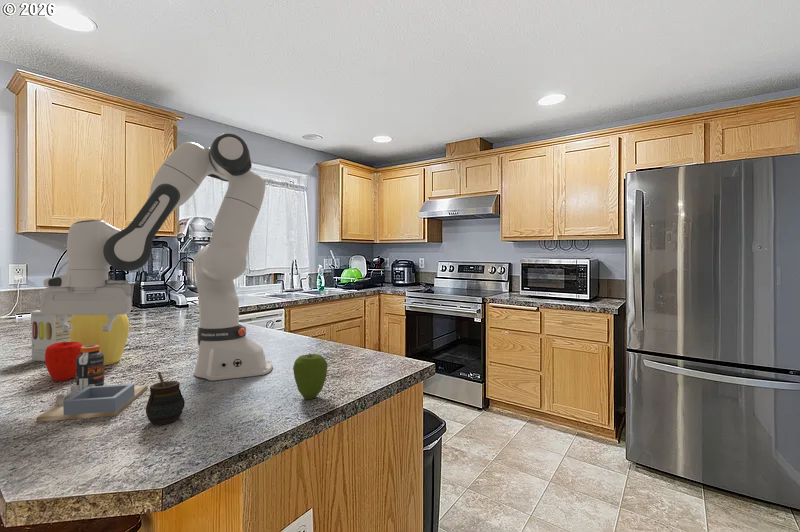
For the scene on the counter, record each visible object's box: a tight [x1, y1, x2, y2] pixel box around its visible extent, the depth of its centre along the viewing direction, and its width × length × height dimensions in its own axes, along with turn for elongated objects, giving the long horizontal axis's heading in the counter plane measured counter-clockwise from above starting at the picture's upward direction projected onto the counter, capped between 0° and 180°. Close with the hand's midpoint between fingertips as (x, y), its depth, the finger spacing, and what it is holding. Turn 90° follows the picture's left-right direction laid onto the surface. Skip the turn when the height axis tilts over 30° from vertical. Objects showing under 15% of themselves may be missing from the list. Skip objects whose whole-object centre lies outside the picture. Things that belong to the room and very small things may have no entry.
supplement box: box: [30, 309, 74, 362], centre depth 139 cm, size 10×9×17 cm
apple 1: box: [44, 342, 82, 382], centre depth 115 cm, size 9×9×11 cm
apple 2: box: [292, 352, 329, 400], centre depth 101 cm, size 9×8×12 cm
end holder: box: [63, 383, 135, 415], centre depth 93 cm, size 10×10×3 cm
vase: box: [69, 314, 130, 366], centre depth 133 cm, size 16×16×28 cm
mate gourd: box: [145, 371, 186, 426], centre depth 87 cm, size 7×8×10 cm
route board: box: [36, 385, 148, 423], centre depth 96 cm, size 15×18×1 cm
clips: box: [55, 384, 95, 407], centre depth 96 cm, size 5×8×2 cm, turn 13°
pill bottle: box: [75, 345, 105, 391], centre depth 108 cm, size 6×6×11 cm
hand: (87, 331), depth 108 cm, fingers open, 8 cm apart
